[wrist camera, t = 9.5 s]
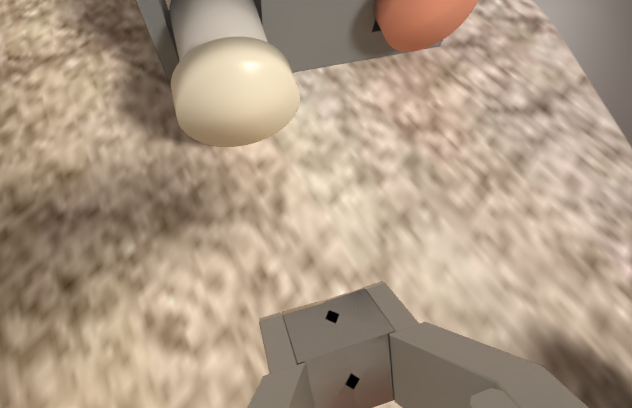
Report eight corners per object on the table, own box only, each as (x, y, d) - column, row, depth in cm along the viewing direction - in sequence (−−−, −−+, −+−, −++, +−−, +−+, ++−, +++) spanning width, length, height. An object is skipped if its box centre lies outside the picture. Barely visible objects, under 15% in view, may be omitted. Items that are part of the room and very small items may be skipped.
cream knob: (192, 156, 24) (158, 79, 18) (173, 64, 27) (138, -32, 20) (297, 133, 26) (302, 54, 19) (269, 49, 28) (265, -46, 22)
